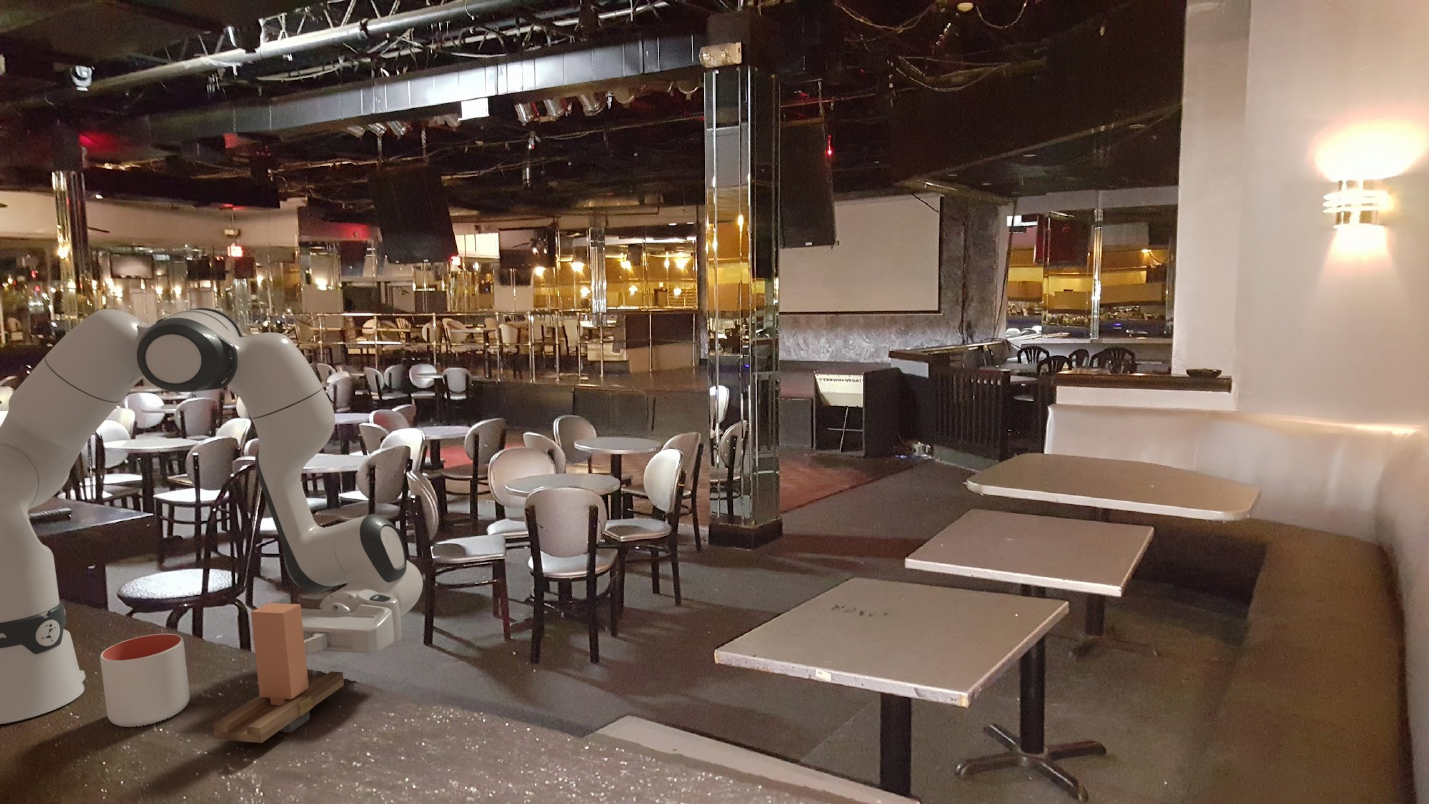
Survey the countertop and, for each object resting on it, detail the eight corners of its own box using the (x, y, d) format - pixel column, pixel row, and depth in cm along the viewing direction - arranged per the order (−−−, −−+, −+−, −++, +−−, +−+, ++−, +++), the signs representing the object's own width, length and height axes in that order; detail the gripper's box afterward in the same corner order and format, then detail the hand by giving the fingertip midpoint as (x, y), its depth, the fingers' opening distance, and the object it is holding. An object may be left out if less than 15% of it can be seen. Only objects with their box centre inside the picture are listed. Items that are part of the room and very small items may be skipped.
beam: (215, 753, 117) (212, 723, 117) (302, 695, 134) (299, 669, 133) (264, 757, 115) (261, 728, 115) (346, 698, 132) (343, 672, 131)
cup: (152, 733, 123) (143, 662, 122) (90, 728, 125) (81, 659, 124) (206, 700, 133) (199, 634, 132) (148, 696, 135) (141, 632, 134)
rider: (260, 704, 123) (250, 611, 122) (278, 693, 127) (268, 602, 125) (292, 707, 122) (283, 613, 121) (309, 695, 126) (300, 604, 124)
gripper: (288, 593, 141) (222, 626, 128) (407, 599, 136) (351, 633, 123) (292, 632, 142) (227, 669, 128) (410, 639, 137) (355, 678, 124)
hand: (289, 651), depth 126 cm, fingers closed
